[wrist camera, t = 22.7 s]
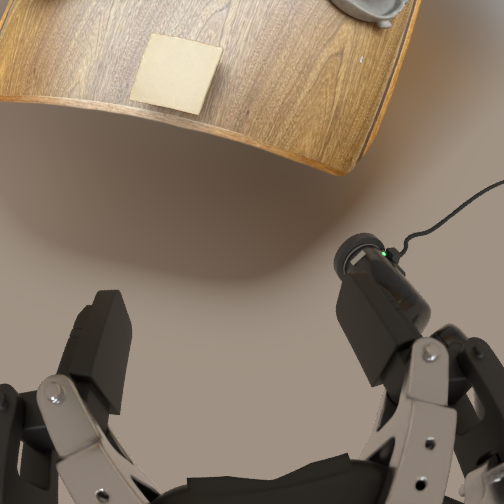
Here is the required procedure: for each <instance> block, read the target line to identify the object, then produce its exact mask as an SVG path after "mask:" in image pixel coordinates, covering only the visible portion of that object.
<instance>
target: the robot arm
mask: <svg viewBox="0 0 504 504" xmlns="http://www.w3.org/2000/svg"><path fill="white" fill-rule="evenodd" d="M501 184H504V180H503V181H500V182H498V183H495V184H493V185H491V186H489V187H487V188H485V189H484V190H482V191H480V192H479V193H477V194H476V195H474V196H473V197H472V198H470V199H469V200H467V201H466V202H465V203H463V204H462V205H461V206H459V207H458V208H457V209H456V210H454V211H453V212H452V213H451V214H449V215H448V216H447V217H445V218H444V219H443V220H441V221H440V222H439V223H438V224H436V225H435V226H433V227H432V228H430V229H428V230H426V231H423V232H417V233H413V234H411V235H409V236H408V237H407V238H406V239H405V241H404V249H403V250H402V251H401V252H400V253H399V252H398V251H397V250H396V249H395V248H387V249H386V252H385V251H384V250H383V249H382V248H378V246H376V245H375V244H373V243H363V244H360V245H358V246H356V247H355V248H353V249H352V250H351V251H350V252H349V253H348V255H347V256H346V258H345V260H344V262H343V273H344V277H343V280H342V284H341V289H340V293H339V297H338V300H337V304H336V315H337V319H338V321H339V323H340V325H341V327H342V329H343V331H344V333H345V335H346V337H347V338H348V341H349V343H350V344H351V346H352V348H353V350H354V352H355V354H356V356H357V358H358V360H359V362H360V364H361V366H362V368H363V370H364V372H365V374H366V376H367V378H368V380H369V382H370V384H371V387H375V386H378V385H381V384H383V385H384V386H385V390H384V392H383V394H382V398H381V402H380V406H379V410H378V413H377V417H376V420H375V424H374V427H373V430H372V433H371V436H370V438H369V440H368V442H367V443H366V445H365V447H364V449H363V450H362V452H361V455H360V457H359V460H354V459H350V458H349V456H348V453H345V454H342V455H339V456H335V457H332V458H328V459H325V460H321V461H317V462H313V463H310V464H308V465H306V466H304V467H302V468H300V469H298V470H296V471H293V472H291V473H289V474H286V475H284V476H282V477H279V478H277V479H274V480H258V479H247V478H237V477H230V476H223V477H205V478H204V477H203V478H187V484H186V485H182V486H179V487H176V488H174V489H171V490H169V491H167V492H165V493H162V492H161V491H160V490H159V488H158V487H157V486H156V485H155V484H154V483H153V482H152V481H151V479H150V478H149V477H148V476H147V475H146V474H145V473H144V472H143V471H142V470H141V469H140V468H139V467H138V466H137V464H136V463H135V462H134V460H133V459H132V458H131V456H130V455H129V454H128V452H127V451H126V449H125V448H124V447H123V445H122V444H121V442H120V441H119V440H118V438H117V436H116V435H115V434H114V432H113V430H112V429H111V427H110V426H109V424H108V418H109V414H114V415H120V410H121V401H122V394H123V387H124V380H125V374H126V367H127V362H128V356H129V351H130V345H131V339H132V325H131V321H130V318H129V315H128V313H127V310H126V307H125V304H124V301H123V298H122V295H121V293H120V291H119V290H101V291H98V292H97V294H96V296H95V299H94V301H93V304H92V305H87V306H86V307H85V308H84V309H83V310H82V311H81V312H80V313H79V314H78V316H77V318H76V321H75V323H74V326H73V329H72V331H71V333H70V338H69V339H68V342H67V344H66V347H65V350H64V352H63V356H62V358H61V361H60V364H59V367H58V370H57V373H56V374H55V375H51V376H49V377H47V378H46V379H45V380H44V381H43V382H42V383H41V384H40V386H39V388H38V390H36V391H31V392H25V393H19V394H18V392H17V391H16V390H15V389H14V388H13V387H12V386H11V385H9V384H0V504H58V474H59V475H60V477H61V479H62V481H63V483H64V484H65V486H66V488H67V490H68V492H69V493H70V495H71V497H72V499H73V500H74V502H75V504H504V367H503V366H502V364H501V363H500V361H499V359H498V358H497V356H496V355H495V354H494V352H493V351H492V349H491V348H490V346H489V345H488V344H487V343H486V342H485V341H484V340H482V339H479V338H476V337H472V338H468V337H467V336H466V334H465V333H464V332H463V331H462V330H461V329H460V328H459V327H457V326H456V325H454V324H451V323H450V324H449V323H448V324H446V325H444V326H442V327H441V328H439V329H438V330H437V331H436V332H434V333H433V334H432V335H431V336H429V337H422V335H421V334H422V332H423V331H424V329H425V328H426V326H427V324H428V322H429V320H430V316H431V308H430V306H429V304H428V303H427V302H426V300H425V299H424V298H423V297H422V296H421V295H420V294H419V292H418V291H417V290H416V289H415V288H414V287H413V285H412V284H411V283H410V282H409V281H408V280H407V279H406V278H405V272H404V271H403V270H402V269H401V268H400V266H399V265H398V262H399V259H400V257H402V256H403V255H404V254H405V252H406V251H407V248H408V241H409V240H410V239H412V238H414V237H417V236H423V235H427V234H429V233H431V232H433V231H434V230H436V229H437V228H439V227H440V226H441V225H442V224H444V223H445V222H446V221H448V220H449V219H450V218H451V217H453V216H454V215H455V214H456V213H458V212H459V211H460V210H462V209H463V208H464V207H465V206H467V205H468V204H469V203H471V202H472V201H473V200H475V199H476V198H478V197H479V196H481V195H482V194H484V193H485V192H487V191H489V190H490V189H493V188H494V187H497V186H499V185H501ZM471 387H472V388H473V393H474V408H473V406H472V404H471V402H470V400H469V398H468V396H467V394H466V393H467V391H468V390H469V389H470V388H471ZM20 440H21V441H22V442H23V450H22V458H21V468H20V476H19V474H18V470H17V463H18V453H19V447H20ZM453 449H454V452H455V454H456V457H457V459H458V462H459V464H460V467H461V470H462V472H463V475H464V478H465V482H464V484H462V485H461V486H460V488H459V495H460V496H462V497H465V500H464V503H462V502H459V501H457V500H454V499H452V498H450V497H447V496H445V491H446V487H447V482H448V477H449V473H450V467H451V461H452V455H453Z"/></svg>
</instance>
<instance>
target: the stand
mask: <svg viewBox="0 0 504 504" xmlns="http://www.w3.org/2000/svg"><path fill="white" fill-rule="evenodd" d="M223 50H224V49H223V48H220V47H217V46H213V45H209V44H205V43H201V42H197V41H192V40H188V39H183V38H178V37H173V36H168V35H162V34H156V33H152V35H151V37H150V40H149V42H148V45H147V47H146V50H145V52H144V55H143V58H142V61H141V63H140V66H139V69H138V72H137V75H136V78H135V81H134V84H133V87H132V90H131V94H130V97H129V100H131V101H136V102H142V103H147V104H152V105H157V106H161V107H166V108H170V109H174V110H179V111H183V112H187V113H191V114H195V115H199V114H200V112H201V110H202V107H203V105H204V102H205V99H206V96H207V93H208V91H209V88H210V85H211V83H212V80H213V77H214V75H215V72H216V70H217V67H218V64H219V62H220V59H221V56H222V53H223Z"/></svg>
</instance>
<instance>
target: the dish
mask: <svg viewBox="0 0 504 504" xmlns="http://www.w3.org/2000/svg"><path fill="white" fill-rule="evenodd" d="M331 1H332V2H333V3H334V4H335V5H336V6H337V7H338V8H340V9H341V10H342V11H344V12H345V13H347V14H348V15H350V16H352V17H354V18H357V19H360V20H363V21H367V22H376V23H377V25H378V27H379V28H384V29H387V28H389V27H391V26H392V25H391V23H390V22H389V20H390V19H392V18H393V17H394V16H396V15H397V14H398V13H400V12H401V11H402V9H403V8H404V5H406V4H407V3H408V1H409V0H331Z"/></svg>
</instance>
